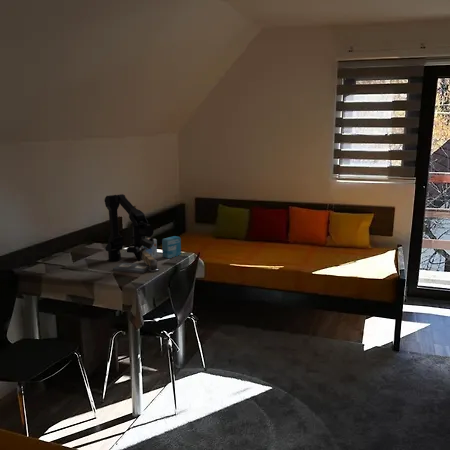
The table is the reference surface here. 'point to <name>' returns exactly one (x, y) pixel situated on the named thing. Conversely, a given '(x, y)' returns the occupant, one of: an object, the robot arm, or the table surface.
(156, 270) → the pivot base
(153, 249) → the light bulb box
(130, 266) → the label board
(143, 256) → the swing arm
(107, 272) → the table surface
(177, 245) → the data package
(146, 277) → the table surface
